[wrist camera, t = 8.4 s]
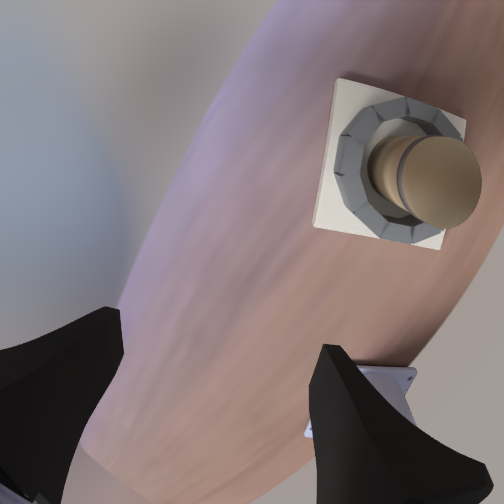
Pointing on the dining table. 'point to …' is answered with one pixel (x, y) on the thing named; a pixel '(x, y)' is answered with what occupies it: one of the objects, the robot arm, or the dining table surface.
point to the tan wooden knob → (427, 177)
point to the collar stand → (356, 158)
